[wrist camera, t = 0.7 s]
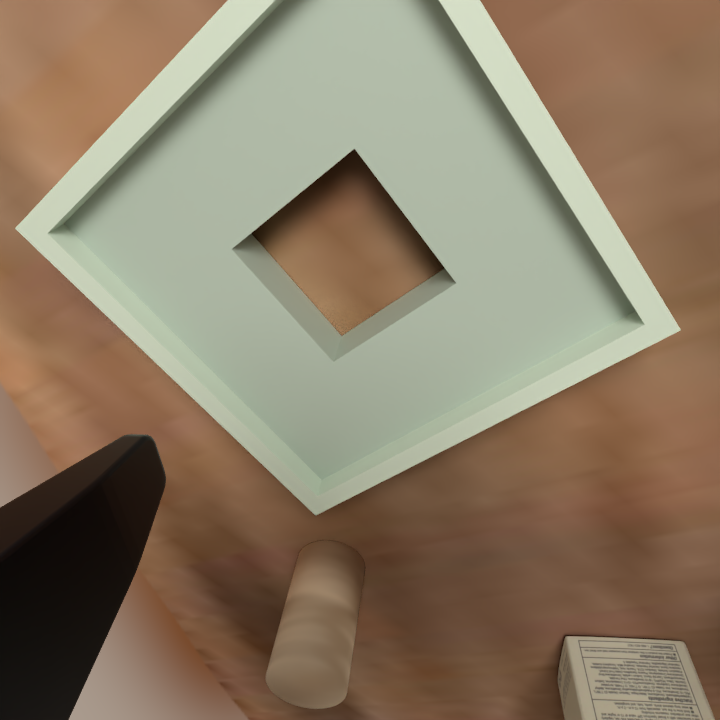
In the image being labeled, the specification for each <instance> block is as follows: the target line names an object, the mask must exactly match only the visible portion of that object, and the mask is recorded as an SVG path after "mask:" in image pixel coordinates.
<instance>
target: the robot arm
mask: <svg viewBox="0 0 720 720" xmlns="http://www.w3.org/2000/svg"><path fill="white" fill-rule="evenodd" d="M165 483H166V476H165V471H164V468H163V465H162V462H161V459H160V456H159V453H158V450H157V447H156V444H155V441H154V439H153V438H152V437H151V436H149V435H133V434H130V435H124V436H122V437H121V438H119V439H117V440H115V441H114V442H112V443H110V444H109V445H107V446H105V447H103V448H102V449H100V450H98V451H97V452H95V453H93V454H91V455H90V456H88V457H86V458H85V459H83V460H81V461H79V462H78V463H76V464H74V465H73V466H71V467H69V468H67V469H66V470H64V471H62V472H60V473H59V474H57V475H55V476H54V477H52V478H50V479H49V480H47V481H45V482H43V483H42V484H40V485H38V486H37V487H35V488H33V489H31V490H30V491H28V492H26V493H25V494H23V495H21V496H19V497H18V498H16V499H14V500H12V501H11V502H9V503H7V504H6V505H4V506H2V507H1V508H0V720H69V717H70V715H71V713H72V711H73V709H74V706H75V704H76V702H77V700H78V698H79V696H80V693H81V691H82V689H83V687H84V684H85V682H86V680H87V678H88V676H89V674H90V672H91V669H92V667H93V665H94V663H95V661H96V658H97V656H98V654H99V652H100V650H101V648H102V645H103V643H104V641H105V639H106V637H107V635H108V632H109V630H110V628H111V626H112V623H113V621H114V619H115V617H116V615H117V613H118V610H119V608H120V606H121V604H122V602H123V600H124V597H125V595H126V593H127V591H128V589H129V586H130V584H131V582H132V580H133V577H134V575H135V573H136V570H137V568H138V565H139V562H140V560H141V557H142V554H143V551H144V548H145V545H146V542H147V539H148V536H149V533H150V530H151V527H152V524H153V521H154V518H155V515H156V512H157V509H158V506H159V503H160V500H161V497H162V494H163V491H164V488H165Z"/></svg>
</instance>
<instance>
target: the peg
mask: <svg viewBox="0 0 720 720" xmlns="http://www.w3.org/2000/svg"><path fill="white" fill-rule="evenodd" d="M364 574H365V563H364V560H363V558H362V557H361V555H360V554H359V553H358V552H357V551H355V550H354V549H353V548H351V547H350V546H348V545H345V544H343V543H340V542H336V541H330V540H322V541H315V542H312V543H310V544H308V545H306V546H305V547H303V548H302V549H301V551H300V552H299V555H298V558H297V562H296V565H295V569H294V573H293V577H292V580H291V584H290V588H289V591H288V595H287V599H286V602H285V606H284V610H283V613H282V617H281V621H280V625H279V628H278V632H277V636H276V639H275V643H274V647H273V650H272V654H271V658H270V662H269V665H268V669H267V673H266V684H267V686H268V687H269V689H270V690H271V691H272V692H273V693H274V694H275V695H276V696H277V697H279V698H280V699H282V700H284V701H286V702H288V703H290V704H293V705H296V706H299V707H304V708H311V709H323V708H329V707H333V706H335V705H337V704H339V703H341V702H342V701H343V700H344V699H345V697H346V695H347V690H348V683H349V676H350V669H351V663H352V656H353V649H354V642H355V635H356V629H357V622H358V615H359V608H360V601H361V595H362V588H363V581H364Z"/></svg>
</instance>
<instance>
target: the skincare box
mask: <svg viewBox="0 0 720 720" xmlns="http://www.w3.org/2000/svg"><path fill="white" fill-rule="evenodd" d="M558 686H559V691H560V696H561V702H562V708H563V713H564V719H565V720H715V718H714V716H713V713H712V711H711V708H710V705H709V703H708V700H707V698H706V695H705V693H704V690H703V688H702V685H701V683H700V680H699V678H698V675H697V672H696V670H695V667H694V665H693V662H692V660H691V657H690V655H689V652H688V650H687V647H686V645H685V643H684V642H682V641H670V640H653V639H632V638H611V637H584V636H566V637H565V639H564V644H563V648H562V653H561V659H560V664H559V671H558Z"/></svg>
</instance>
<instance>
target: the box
mask: <svg viewBox="0 0 720 720" xmlns="http://www.w3.org/2000/svg"><path fill="white" fill-rule="evenodd" d="M353 149H355V150H356V151H357V153H358V154H359V155H360V157H361V158H362V159H363V161H364V162H365V163H366V164H367V166H368V167H369V168H370V170H371V171H372V172H373V174H374V175H375V176H376V178H377V179H378V180H379V182H380V183H381V184H382V186H383V187H384V188H385V190H386V191H387V192H388V194H389V195H390V196H391V198H392V199H393V200H394V201H395V203H396V204H397V205H398V207H399V208H400V209H401V211H402V212H403V213H404V215H405V216H406V217H407V219H408V220H409V221H410V223H411V224H412V225H413V227H414V228H415V229H416V231H417V232H418V233H419V234H420V236H421V237H422V238H423V240H424V241H425V242H426V244H427V245H428V246H429V248H430V249H431V250H432V252H433V253H434V254H435V256H436V257H437V258H438V260H439V261H440V262H441V264H442V265H443V266H444V269H443V270H441V271H440V272H438V273H437V274H435V275H434V276H432V277H431V278H429V279H428V280H426V281H425V282H423V283H422V284H420V285H419V286H417V287H416V288H414V289H413V290H411V291H410V292H408V293H406V294H405V295H403V296H402V297H400V298H399V299H397V300H396V301H394V302H393V303H391V304H390V305H388V306H387V307H385V308H384V309H382V310H381V311H379V312H378V313H376V314H375V315H373V316H372V317H370V318H368V319H367V320H365V321H364V322H362V323H361V324H359V325H358V326H356V327H355V328H353V329H352V330H350V331H349V332H347V333H346V334H344V335H343V336H341V335H340V334H339V333H338V332H337V330H336V329H335V328H334V327H333V326H332V325H331V324H330V322H329V321H328V320H327V319H326V318H325V317H324V316H323V314H322V313H321V312H320V311H319V310H318V309H317V308H316V306H315V305H314V304H313V303H312V302H311V301H310V300H309V299H308V297H307V296H306V295H305V294H304V293H303V292H302V291H301V289H300V288H299V287H298V286H297V285H296V284H295V283H294V281H293V280H292V279H291V278H290V277H289V276H288V275H287V273H286V272H285V271H284V270H283V269H282V268H281V267H280V266H279V264H278V263H277V262H276V261H275V260H274V259H273V258H272V256H271V255H270V254H269V253H268V252H267V251H266V250H265V248H264V247H263V246H262V245H261V244H260V243H259V242H258V240H257V239H256V238H255V237H254V236H253V235H252V234H251V233H252V232H253V231H254V230H256V229H257V228H258V227H259V226H260V225H262V224H263V223H264V222H265V221H267V220H268V219H269V218H270V217H271V216H273V215H274V214H275V213H276V212H278V211H279V210H280V209H281V208H282V207H284V206H285V205H286V204H287V203H289V202H290V201H291V200H292V199H293V198H295V197H296V196H297V195H298V194H300V193H301V192H302V191H303V190H304V189H306V188H307V187H308V186H309V185H311V184H312V183H313V182H314V181H315V180H317V179H318V178H319V177H320V176H322V175H323V174H324V173H325V172H326V171H328V170H329V169H330V168H331V167H333V166H334V165H335V164H336V163H337V162H339V161H340V160H341V159H342V158H344V157H345V156H346V155H347V154H348V153H350V152H351V151H352V150H353ZM15 229H16V230H17V231H18V232H19V233H20V234H22V235H23V236H24V237H25V238H26V239H27V240H28V241H29V242H30V243H31V244H32V245H33V246H34V247H35V248H36V249H37V250H38V251H39V252H40V253H41V254H42V255H43V256H45V257H46V258H47V259H48V260H49V261H50V262H51V263H52V264H53V265H54V266H55V267H56V268H57V269H58V270H59V271H60V272H61V273H62V274H63V275H64V276H65V277H66V278H68V279H69V280H70V281H71V282H72V283H73V284H74V285H75V286H76V287H77V288H78V289H79V290H80V291H81V292H82V293H83V294H84V295H85V296H86V297H87V298H88V299H90V300H91V301H92V302H93V303H94V304H95V305H96V306H97V307H98V308H99V309H100V310H101V311H102V312H103V313H104V314H105V315H106V316H107V317H108V318H109V319H110V320H111V321H113V322H114V323H115V324H116V325H117V326H118V327H119V328H120V329H121V330H122V331H123V332H124V333H125V334H126V335H127V336H128V337H129V338H130V339H131V340H132V341H133V342H134V343H136V344H137V345H138V346H139V347H140V348H141V349H142V350H143V351H144V352H145V353H146V354H147V355H148V356H149V357H150V358H151V359H152V360H153V361H154V362H155V363H156V364H158V365H159V366H160V367H161V368H162V369H163V370H164V371H165V372H166V373H167V374H168V375H169V376H170V377H171V378H172V379H173V380H174V381H175V382H176V383H177V384H178V385H179V386H181V387H182V388H183V389H184V390H185V391H186V392H187V393H188V394H189V395H190V396H191V397H192V398H193V399H194V400H195V401H196V402H197V403H198V404H199V405H200V406H201V407H202V408H204V409H205V410H206V411H207V412H208V413H209V414H210V415H211V416H212V417H213V418H214V419H215V420H216V421H217V422H218V423H219V424H220V425H221V426H222V427H223V428H224V429H225V430H227V431H228V432H229V433H230V434H231V435H232V436H233V437H234V438H235V439H236V440H237V441H238V442H239V443H240V444H241V445H242V446H243V447H244V448H245V449H246V450H247V451H249V452H250V453H251V454H252V455H253V456H254V457H255V458H256V459H257V460H258V461H259V462H260V463H261V464H262V465H263V466H264V467H265V468H266V469H267V470H268V471H269V472H270V473H272V474H273V475H274V476H275V477H276V478H277V479H278V480H279V481H280V482H281V483H282V484H283V485H284V486H285V487H286V488H287V489H288V490H289V491H290V492H291V493H292V494H293V495H295V496H296V497H297V498H298V499H299V500H300V501H301V502H302V503H303V504H304V505H305V506H306V507H307V508H308V509H309V510H310V511H311V512H312V513H313V514H314V515H315V516H316V515H318V514H320V513H322V512H324V511H326V510H328V509H330V508H332V507H333V506H335V505H337V504H339V503H341V502H343V501H345V500H347V499H349V498H351V497H353V496H355V495H357V494H359V493H361V492H363V491H365V490H367V489H369V488H371V487H373V486H375V485H377V484H379V483H381V482H383V481H385V480H387V479H389V478H391V477H393V476H395V475H397V474H398V473H400V472H402V471H404V470H406V469H408V468H410V467H412V466H414V465H416V464H418V463H420V462H422V461H424V460H426V459H428V458H430V457H432V456H434V455H436V454H438V453H440V452H442V451H444V450H446V449H448V448H450V447H452V446H454V445H456V444H458V443H460V442H462V441H464V440H465V439H467V438H469V437H471V436H473V435H475V434H477V433H479V432H481V431H483V430H485V429H487V428H489V427H491V426H493V425H495V424H497V423H499V422H501V421H503V420H505V419H507V418H509V417H511V416H513V415H515V414H517V413H519V412H521V411H523V410H525V409H527V408H529V407H530V406H532V405H534V404H536V403H538V402H540V401H542V400H544V399H546V398H548V397H550V396H552V395H554V394H556V393H558V392H560V391H562V390H564V389H566V388H568V387H570V386H572V385H574V384H576V383H578V382H580V381H582V380H584V379H586V378H588V377H590V376H592V375H594V374H596V373H597V372H599V371H601V370H603V369H605V368H607V367H609V366H611V365H613V364H615V363H617V362H619V361H621V360H623V359H625V358H627V357H629V356H631V355H633V354H635V353H637V352H639V351H641V350H643V349H645V348H647V347H649V346H651V345H653V344H655V343H657V342H659V341H661V340H662V339H664V338H666V337H668V336H670V335H672V334H674V333H676V332H678V331H680V328H679V326H678V325H677V323H676V321H675V320H674V318H673V316H672V315H671V313H670V311H669V310H668V308H667V307H666V305H665V303H664V302H663V300H662V298H661V297H660V295H659V293H658V292H657V290H656V289H655V287H654V285H653V284H652V282H651V280H650V279H649V277H648V275H647V274H646V272H645V270H644V269H643V267H642V266H641V264H640V262H639V261H638V259H637V257H636V256H635V254H634V252H633V251H632V249H631V247H630V246H629V244H628V243H627V241H626V239H625V238H624V236H623V234H622V233H621V231H620V229H619V228H618V226H617V225H616V223H615V221H614V220H613V218H612V216H611V215H610V213H609V211H608V210H607V208H606V206H605V205H604V203H603V202H602V200H601V198H600V197H599V195H598V193H597V192H596V190H595V188H594V187H593V185H592V183H591V182H590V180H589V179H588V177H587V175H586V174H585V172H584V170H583V169H582V167H581V165H580V164H579V162H578V161H577V159H576V157H575V156H574V154H573V152H572V151H571V149H570V147H569V146H568V144H567V142H566V141H565V139H564V138H563V136H562V134H561V133H560V131H559V129H558V128H557V126H556V124H555V123H554V121H553V119H552V118H551V116H550V115H549V113H548V111H547V110H546V108H545V106H544V105H543V103H542V101H541V100H540V98H539V97H538V95H537V93H536V92H535V90H534V88H533V87H532V85H531V83H530V82H529V80H528V78H527V77H526V75H525V74H524V72H523V70H522V69H521V67H520V65H519V64H518V62H517V60H516V59H515V57H514V55H513V54H512V52H511V51H510V49H509V47H508V46H507V44H506V42H505V41H504V39H503V37H502V36H501V34H500V33H499V31H498V29H497V28H496V26H495V24H494V23H493V21H492V19H491V18H490V16H489V14H488V13H487V11H486V10H485V8H484V6H483V5H482V3H481V1H480V0H228V1H227V2H226V3H225V4H224V5H223V6H222V7H221V8H220V9H219V10H218V11H217V13H216V14H215V15H214V16H213V17H212V18H211V19H210V20H209V21H208V22H207V23H206V24H205V25H204V26H203V28H202V29H201V30H200V31H199V32H198V33H197V34H196V35H195V36H194V37H193V38H192V39H191V40H190V41H189V43H188V44H187V45H186V46H185V47H184V48H183V49H182V50H181V51H180V52H179V53H178V54H177V55H176V57H175V58H174V59H173V60H172V61H171V62H170V63H169V64H168V65H167V66H166V67H165V68H164V69H163V70H162V72H161V73H160V74H159V75H158V76H157V77H156V78H155V79H154V80H153V81H152V82H151V83H150V84H149V85H148V87H147V88H146V89H145V90H144V91H143V92H142V93H141V94H140V95H139V96H138V97H137V98H136V99H135V100H134V102H133V103H132V104H131V105H130V106H129V107H128V108H127V109H126V110H125V111H124V112H123V113H122V114H121V115H120V117H119V118H118V119H117V120H116V121H115V122H114V123H113V124H112V125H111V126H110V127H109V128H108V129H107V131H106V132H105V133H104V134H103V135H102V136H101V137H100V138H99V139H98V140H97V141H96V142H95V143H94V144H93V146H92V147H91V148H90V149H89V150H88V151H87V152H86V153H85V154H84V155H83V156H82V157H81V158H80V159H79V161H78V162H77V163H76V164H75V165H74V166H73V167H72V168H71V169H70V170H69V171H68V172H67V173H66V174H65V176H64V177H63V178H62V179H61V180H60V181H59V182H58V183H57V184H56V185H55V186H54V187H53V188H52V190H51V191H50V192H49V193H48V194H47V195H46V196H45V197H44V198H43V199H42V200H41V201H40V202H39V203H38V205H37V206H36V207H35V208H34V209H33V210H32V211H31V212H30V213H29V214H28V215H27V216H26V217H25V218H24V220H23V221H22V222H21V223H20V224H19V225H18V226H17V227H16V228H15Z"/></svg>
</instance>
